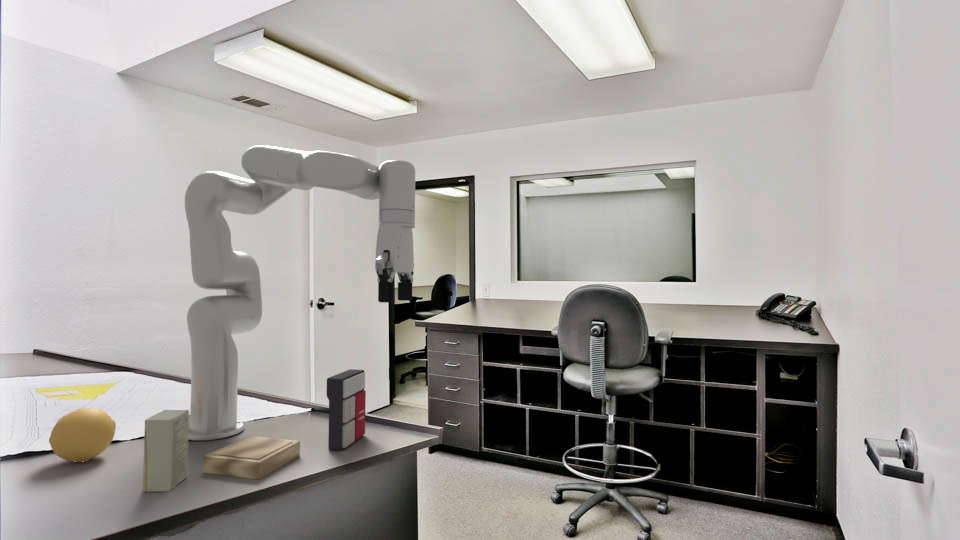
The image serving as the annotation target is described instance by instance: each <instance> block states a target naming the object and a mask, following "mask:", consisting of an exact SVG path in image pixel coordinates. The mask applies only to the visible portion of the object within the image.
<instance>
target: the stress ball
mask: <svg viewBox="0 0 960 540" xmlns="http://www.w3.org/2000/svg"><path fill="white" fill-rule="evenodd" d="M115 433H116V422H115V420H114V419H113V418H112V417H111V416H110V415H109V414H108V413H107V412H106V411H103V410H102V409H98V408H93V407H92V408H91V407H89V408H86V407H85V408H78V409H75V410H74V411H71V412H68V413H67V414H65V415H63V416H62V417H60V418H59V420H58V421H57V422H56V423H55V425H54V426H53V428H52V429H51V433H50V437H49V439H48V441H49V444H50V447H51V450H52V451H53V453H54V454H55V455H56V456H57V457H59V458H60V459H62V460H64V461H69V462H73V461H76V462H82V461H86V460H90V459H91V458H92V459H93V458H96V457H97V456H99V455H101V454H102V453H103V452H105V450H107V448H108V447H110V445H111V443H112V442H113V440H114V436H115ZM92 459H91V460H92ZM91 460H90V461H91ZM82 463H83V462H82Z"/></svg>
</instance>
